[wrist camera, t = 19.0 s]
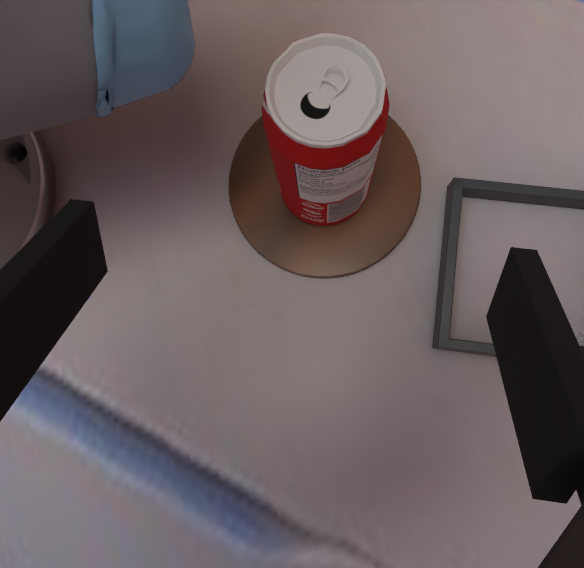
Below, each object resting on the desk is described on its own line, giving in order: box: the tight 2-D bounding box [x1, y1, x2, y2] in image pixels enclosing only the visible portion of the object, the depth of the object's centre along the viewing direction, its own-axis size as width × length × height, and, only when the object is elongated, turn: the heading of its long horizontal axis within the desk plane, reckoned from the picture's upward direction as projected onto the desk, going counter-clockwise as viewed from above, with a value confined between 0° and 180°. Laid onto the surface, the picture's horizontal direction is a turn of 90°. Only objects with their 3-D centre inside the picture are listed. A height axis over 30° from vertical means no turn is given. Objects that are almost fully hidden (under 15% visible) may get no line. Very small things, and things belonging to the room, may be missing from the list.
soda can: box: [262, 33, 389, 226], centre depth 27 cm, size 6×6×12 cm
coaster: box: [229, 115, 421, 278], centre depth 33 cm, size 12×12×1 cm
